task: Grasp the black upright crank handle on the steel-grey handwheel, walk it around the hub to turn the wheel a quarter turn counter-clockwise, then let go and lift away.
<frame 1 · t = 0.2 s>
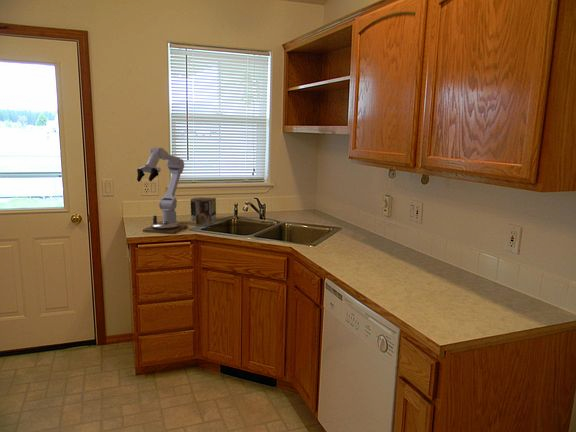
hand: (143, 180, 262), 31 cm above the counter, tool tilted 45°, fingers open, 7 cm apart
tea box: (203, 219, 310), on the counter
wheel base: (165, 229, 277), on the counter
handwheel: (165, 221, 276), point 5 cm above the counter, hinge at 0.0°
coffee box: (204, 225, 291), on the counter
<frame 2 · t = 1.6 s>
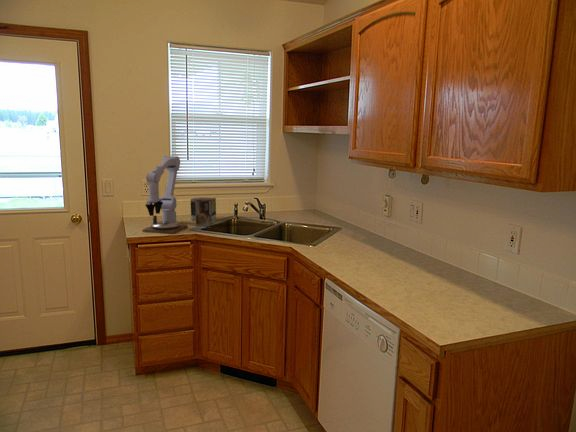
hand: (154, 214, 277), 9 cm above the counter, tool pointing down, fingers open, 7 cm apart
nothing on the counter moved.
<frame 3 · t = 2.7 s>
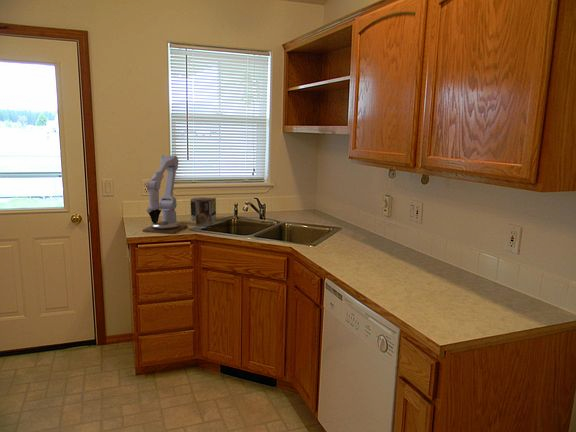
hand: (155, 221, 278), 4 cm above the counter, tool pointing down, fingers closed on handwheel, 2 cm apart
handwheel: (165, 221, 276), point 5 cm above the counter, hinge at 0.0°, touching gripper
everything else where it was.
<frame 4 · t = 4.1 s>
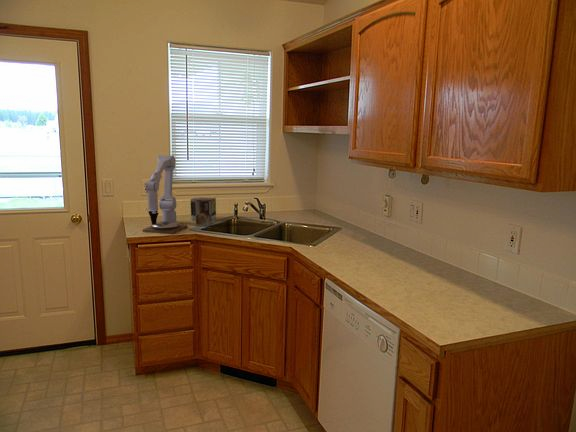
hand: (153, 223, 274), 4 cm above the counter, tool pointing down, fingers open, 4 cm apart
handwheel: (165, 221, 276), point 5 cm above the counter, hinge at 23.7°, touching gripper
everything else where it was.
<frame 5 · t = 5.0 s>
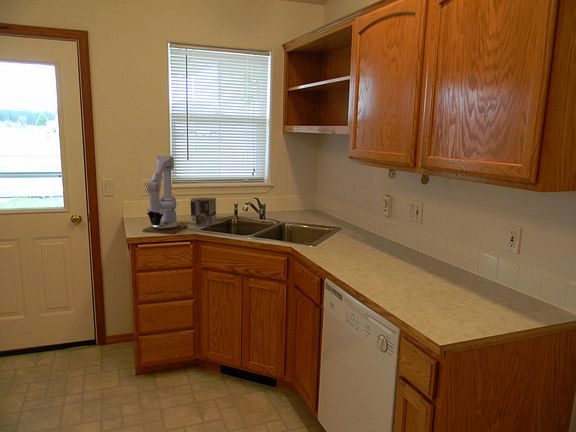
hand: (155, 224, 271), 4 cm above the counter, tool pointing down, fingers open, 4 cm apart
handwheel: (165, 221, 276), point 5 cm above the counter, hinge at 53.0°, touching gripper
everything else where it was.
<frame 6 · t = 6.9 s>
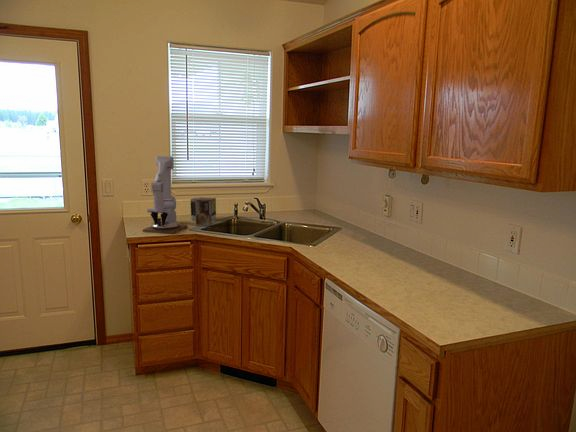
hand: (159, 224, 269), 4 cm above the counter, tool pointing down, fingers open, 4 cm apart
handwheel: (165, 221, 276), point 5 cm above the counter, hinge at 86.8°
everything else where it was.
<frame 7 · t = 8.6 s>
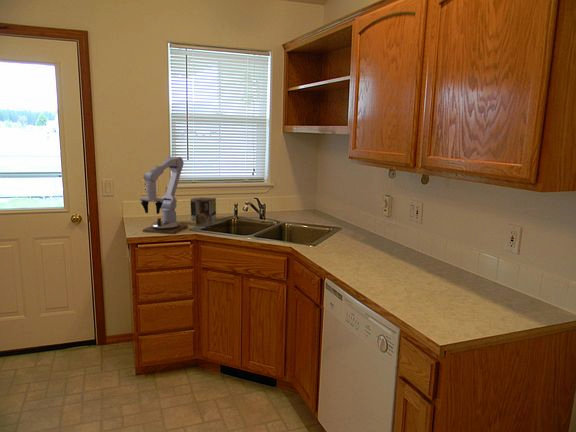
hand: (152, 213, 279), 9 cm above the counter, tool pointing down, fingers open, 7 cm apart
nothing on the counter moved.
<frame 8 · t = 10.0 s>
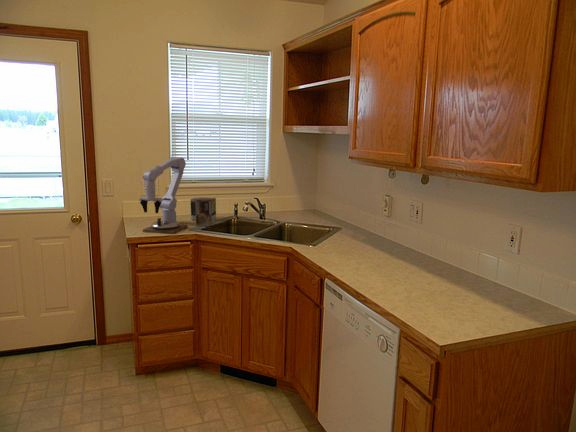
hand: (151, 212, 280), 9 cm above the counter, tool pointing down, fingers open, 7 cm apart
nothing on the counter moved.
at the end: handwheel at +87° (first picture: +0°); coffee box moved 0.2 cm from its start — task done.
